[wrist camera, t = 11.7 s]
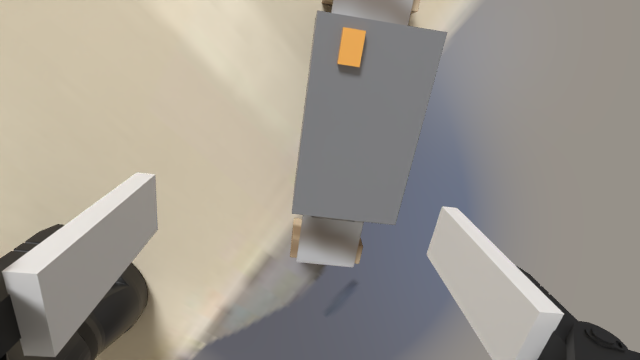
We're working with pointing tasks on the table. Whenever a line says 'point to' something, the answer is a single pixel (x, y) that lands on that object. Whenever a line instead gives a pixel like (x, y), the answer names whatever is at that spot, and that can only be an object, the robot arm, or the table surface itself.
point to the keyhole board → (329, 233)
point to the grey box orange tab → (362, 116)
